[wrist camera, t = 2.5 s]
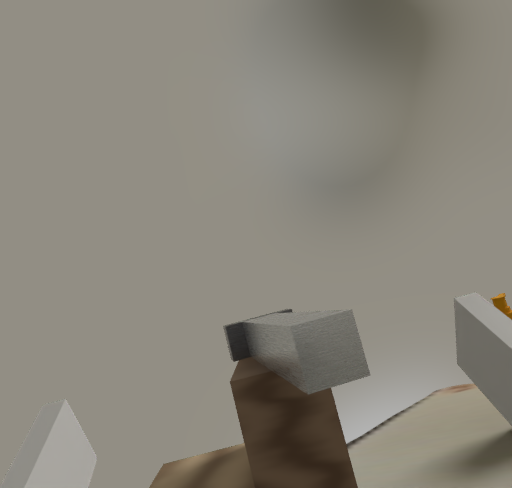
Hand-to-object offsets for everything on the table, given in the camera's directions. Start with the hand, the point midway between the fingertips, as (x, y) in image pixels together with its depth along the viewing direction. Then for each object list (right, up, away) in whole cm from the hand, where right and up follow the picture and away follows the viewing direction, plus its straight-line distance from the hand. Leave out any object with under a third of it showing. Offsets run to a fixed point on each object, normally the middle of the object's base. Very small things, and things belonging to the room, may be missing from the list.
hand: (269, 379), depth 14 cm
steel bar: (+2, -6, +23) cm, 24 cm away
